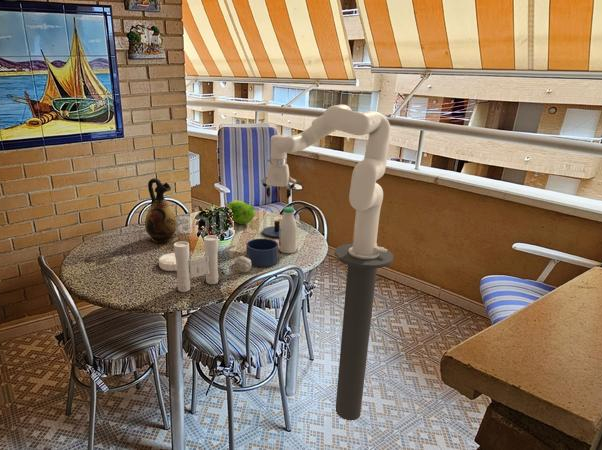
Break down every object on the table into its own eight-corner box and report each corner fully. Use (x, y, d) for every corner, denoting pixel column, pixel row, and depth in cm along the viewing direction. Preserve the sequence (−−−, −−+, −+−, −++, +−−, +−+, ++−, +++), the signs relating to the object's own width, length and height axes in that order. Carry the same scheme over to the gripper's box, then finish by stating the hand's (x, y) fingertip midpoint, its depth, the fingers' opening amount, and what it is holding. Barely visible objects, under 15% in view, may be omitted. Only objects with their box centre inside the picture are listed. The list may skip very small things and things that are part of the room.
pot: (280, 256, 177) (281, 240, 175) (273, 269, 166) (273, 252, 163) (251, 252, 182) (251, 237, 179) (242, 264, 170) (242, 248, 168)
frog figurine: (232, 271, 165) (231, 255, 162) (246, 267, 168) (246, 251, 166) (240, 277, 160) (240, 260, 157) (255, 272, 163) (255, 256, 161)
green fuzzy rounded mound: (240, 214, 234) (240, 195, 230) (260, 226, 214) (260, 205, 210) (220, 218, 229) (219, 198, 225) (238, 230, 209) (237, 208, 205)
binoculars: (180, 293, 148) (177, 248, 142) (174, 287, 153) (171, 243, 147) (221, 282, 156) (220, 238, 150) (215, 276, 160) (214, 234, 154)
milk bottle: (299, 250, 184) (301, 207, 177) (289, 255, 178) (290, 211, 172) (285, 245, 189) (286, 204, 182) (275, 250, 184) (276, 208, 177)
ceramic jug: (184, 237, 202) (180, 177, 192) (164, 247, 190) (159, 184, 180) (157, 231, 211) (153, 174, 201) (137, 241, 198) (131, 180, 188)
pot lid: (293, 230, 208) (294, 218, 206) (287, 239, 196) (288, 227, 194) (266, 227, 213) (267, 215, 211) (259, 236, 201) (259, 224, 199)
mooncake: (153, 266, 171) (152, 258, 170) (174, 256, 179) (173, 249, 178) (173, 274, 164) (172, 265, 162) (193, 263, 172) (193, 256, 171)
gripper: (258, 162, 192) (259, 198, 197) (295, 163, 186) (294, 200, 191) (263, 160, 199) (263, 194, 204) (298, 161, 192) (297, 196, 198)
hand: (278, 197), depth 198 cm, fingers open, 9 cm apart
